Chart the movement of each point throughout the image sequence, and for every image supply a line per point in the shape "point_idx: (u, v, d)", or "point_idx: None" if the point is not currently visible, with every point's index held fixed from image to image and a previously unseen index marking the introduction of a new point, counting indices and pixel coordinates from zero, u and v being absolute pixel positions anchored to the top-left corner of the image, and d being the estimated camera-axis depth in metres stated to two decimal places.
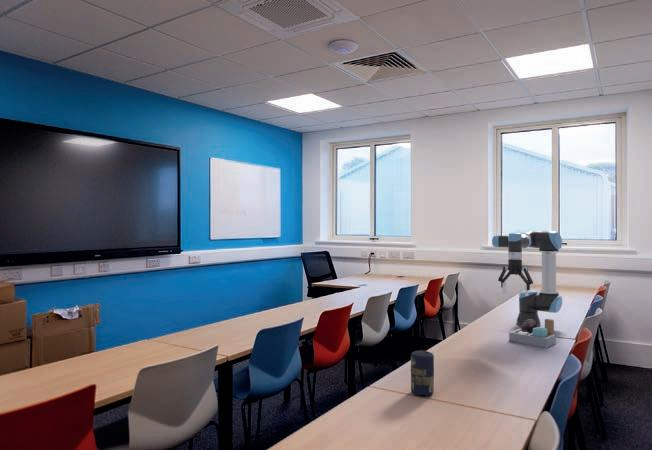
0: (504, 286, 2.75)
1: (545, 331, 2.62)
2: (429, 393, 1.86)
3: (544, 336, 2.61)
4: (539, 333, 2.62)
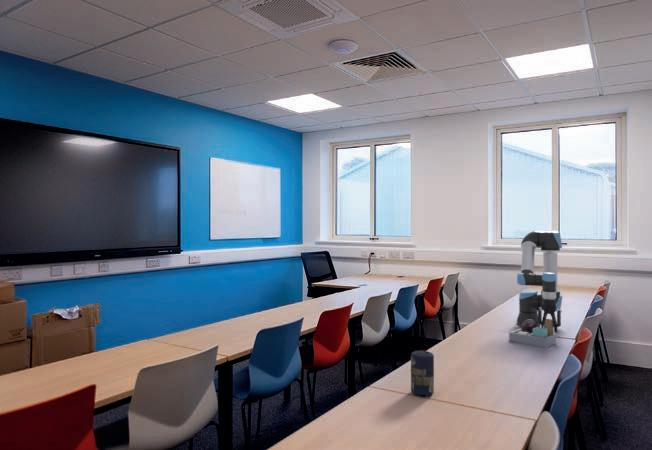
0: None
1: (545, 331, 2.62)
2: (429, 393, 1.86)
3: (544, 336, 2.61)
4: (539, 333, 2.62)
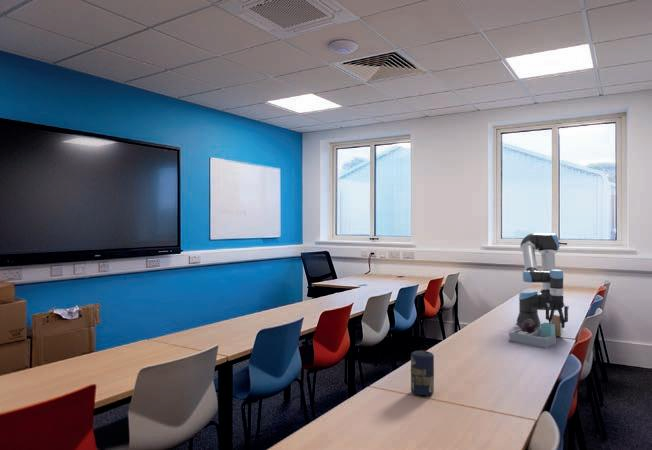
0: None
1: (553, 326, 2.70)
2: (429, 393, 1.86)
3: (552, 331, 2.69)
4: (547, 328, 2.70)
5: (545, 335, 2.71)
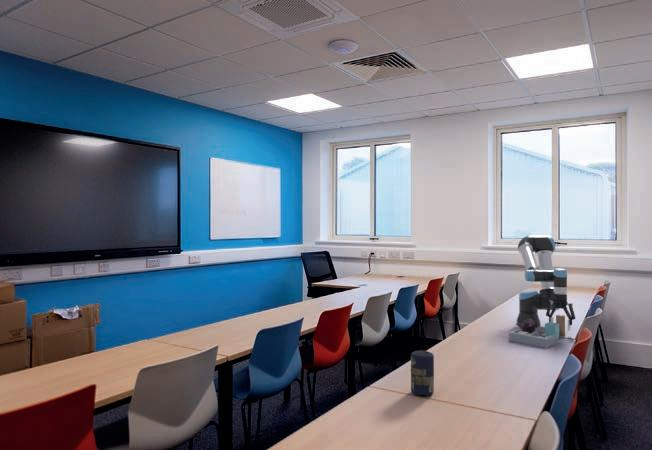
0: (552, 321, 2.89)
1: (557, 326, 2.74)
2: (429, 393, 1.86)
3: (556, 331, 2.73)
4: (551, 328, 2.74)
5: (549, 334, 2.75)
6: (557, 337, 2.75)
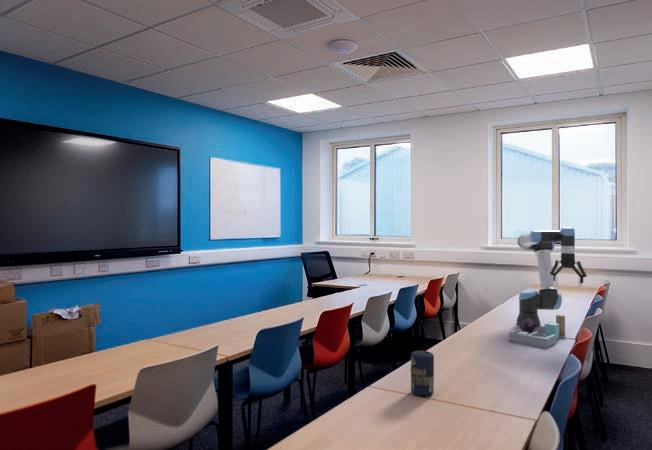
0: (556, 279, 2.83)
1: (557, 326, 2.74)
2: (429, 393, 1.86)
3: (556, 331, 2.73)
4: (551, 328, 2.74)
5: (549, 334, 2.75)
6: (557, 337, 2.75)
